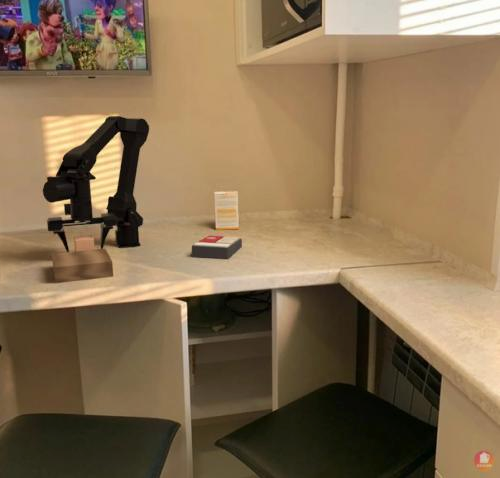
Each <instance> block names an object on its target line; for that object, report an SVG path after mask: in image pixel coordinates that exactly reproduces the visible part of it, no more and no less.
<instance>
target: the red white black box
mask: <svg viewBox="0 0 500 478" xmlns="http://www.w3.org/2000/svg"><path fill="white" fill-rule="evenodd" d="M242 247H243V239H242V238H241V237H240V236H228V235H227V236H223V235H208V236H205V237H204V238H202V239H200V240H199V241H198V242H196V243H193V244H192V245H191V258H193V259H195V258H197V259H211V260H212V259H214V260H229V259H230V258H232V256H233V255H234V254H236V253H237V252H238V251H239V250H240V249H241V248H242Z"/></svg>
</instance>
